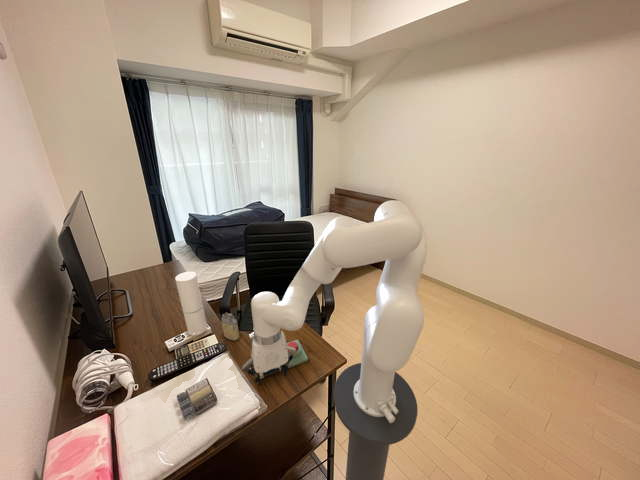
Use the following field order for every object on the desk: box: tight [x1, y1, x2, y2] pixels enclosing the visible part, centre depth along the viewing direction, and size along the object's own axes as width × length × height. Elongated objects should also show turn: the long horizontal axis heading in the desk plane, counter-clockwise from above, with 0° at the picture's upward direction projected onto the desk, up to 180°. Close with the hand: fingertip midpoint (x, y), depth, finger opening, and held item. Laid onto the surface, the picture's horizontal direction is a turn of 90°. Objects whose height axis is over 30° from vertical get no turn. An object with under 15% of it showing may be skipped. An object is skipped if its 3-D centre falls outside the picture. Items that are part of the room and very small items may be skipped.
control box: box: [286, 339, 309, 369], centre depth 91 cm, size 10×8×3 cm
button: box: [287, 341, 297, 351], centre depth 90 cm, size 4×4×2 cm
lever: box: [263, 367, 281, 379], centre depth 81 cm, size 12×5×2 cm, turn 26°
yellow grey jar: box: [221, 312, 240, 342], centre depth 98 cm, size 7×4×10 cm, turn 61°
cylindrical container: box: [174, 271, 208, 336], centre depth 99 cm, size 7×7×25 cm
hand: (271, 377), depth 79 cm, fingers open, 7 cm apart
